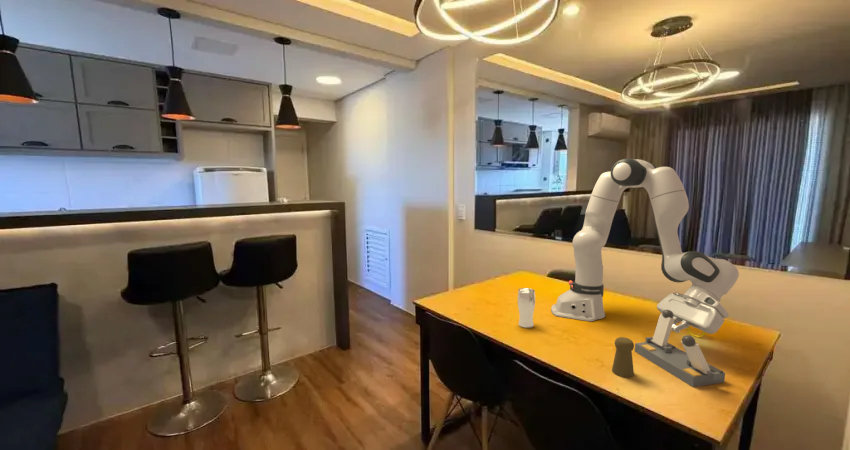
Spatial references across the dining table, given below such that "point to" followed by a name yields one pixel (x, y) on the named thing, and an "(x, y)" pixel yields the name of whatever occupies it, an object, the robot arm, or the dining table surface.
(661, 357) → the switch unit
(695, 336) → the watch
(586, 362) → the dining table surface
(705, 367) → the lever
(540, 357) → the dining table surface
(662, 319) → the lever
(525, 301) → the beer glass
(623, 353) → the brown pawn
